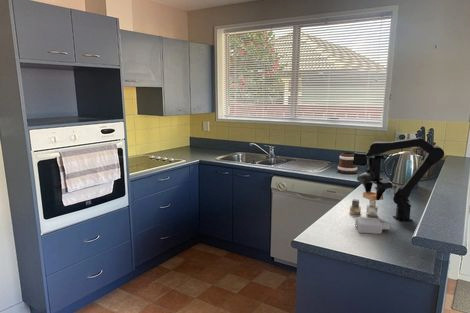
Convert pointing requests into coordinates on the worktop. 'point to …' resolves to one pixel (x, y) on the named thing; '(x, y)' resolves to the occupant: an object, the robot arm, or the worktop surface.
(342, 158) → the brown layered cake
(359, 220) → the white plastic bottle
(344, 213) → the worktop surface
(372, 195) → the washer
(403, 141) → the robot arm
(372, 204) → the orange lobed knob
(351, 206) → the small brown bottle
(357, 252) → the worktop surface
